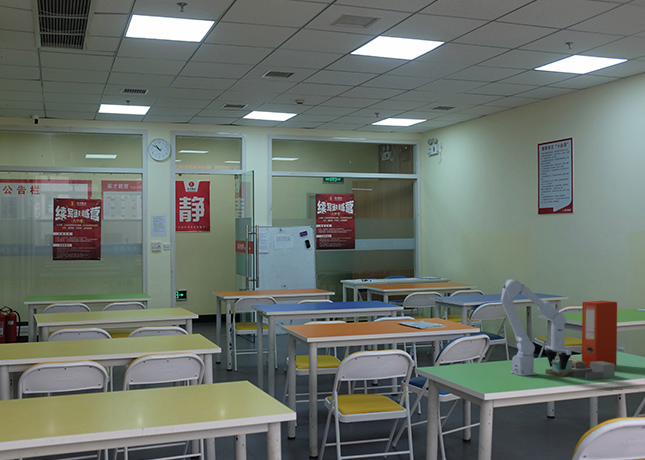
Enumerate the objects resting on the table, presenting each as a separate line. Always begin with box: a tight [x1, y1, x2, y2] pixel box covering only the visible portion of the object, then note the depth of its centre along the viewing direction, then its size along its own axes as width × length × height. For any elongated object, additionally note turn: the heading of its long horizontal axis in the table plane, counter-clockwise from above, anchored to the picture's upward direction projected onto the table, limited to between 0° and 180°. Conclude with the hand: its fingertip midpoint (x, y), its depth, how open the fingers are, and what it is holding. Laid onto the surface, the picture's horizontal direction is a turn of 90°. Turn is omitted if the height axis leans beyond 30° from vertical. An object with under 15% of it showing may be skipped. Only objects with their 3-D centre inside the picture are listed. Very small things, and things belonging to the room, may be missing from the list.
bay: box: [572, 361, 616, 381], centre depth 292 cm, size 17×8×6 cm, turn 114°
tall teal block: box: [551, 358, 572, 372], centre depth 298 cm, size 9×4×6 cm, turn 115°
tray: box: [545, 368, 575, 378], centre depth 298 cm, size 13×8×2 cm, turn 114°
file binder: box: [581, 300, 618, 369], centre depth 318 cm, size 8×17×32 cm, turn 124°
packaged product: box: [555, 355, 590, 370], centre depth 314 cm, size 18×5×10 cm
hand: (557, 367), depth 297 cm, fingers open, 6 cm apart
